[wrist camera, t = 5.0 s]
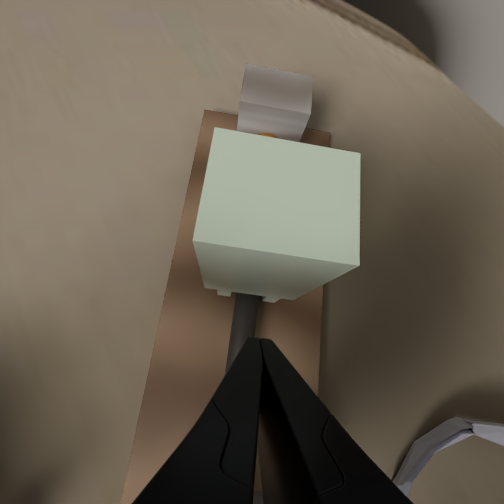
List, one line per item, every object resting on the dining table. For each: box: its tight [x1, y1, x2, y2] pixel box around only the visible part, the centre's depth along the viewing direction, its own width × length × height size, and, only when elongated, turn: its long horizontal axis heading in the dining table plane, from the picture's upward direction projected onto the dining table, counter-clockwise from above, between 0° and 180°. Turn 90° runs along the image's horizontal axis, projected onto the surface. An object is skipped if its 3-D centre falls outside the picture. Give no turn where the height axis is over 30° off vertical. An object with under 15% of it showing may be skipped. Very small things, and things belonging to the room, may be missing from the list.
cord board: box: [120, 63, 330, 504], centre depth 16 cm, size 28×10×6 cm, turn 173°
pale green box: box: [192, 127, 360, 303], centre depth 14 cm, size 4×5×10 cm
